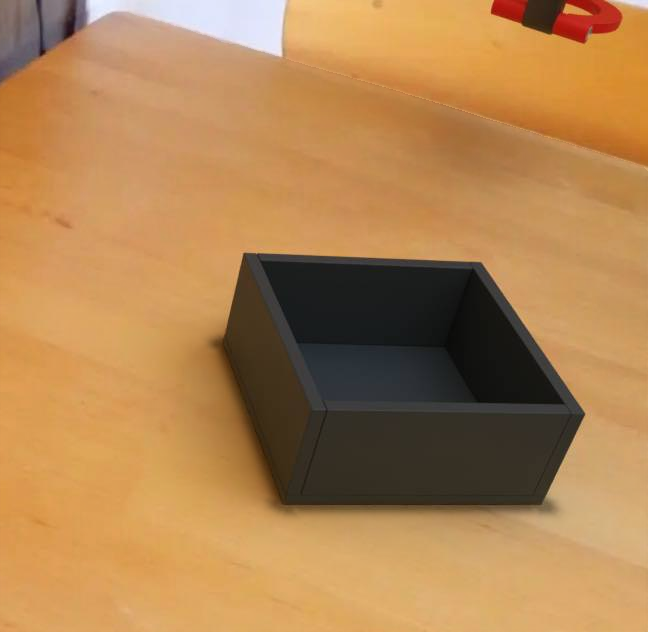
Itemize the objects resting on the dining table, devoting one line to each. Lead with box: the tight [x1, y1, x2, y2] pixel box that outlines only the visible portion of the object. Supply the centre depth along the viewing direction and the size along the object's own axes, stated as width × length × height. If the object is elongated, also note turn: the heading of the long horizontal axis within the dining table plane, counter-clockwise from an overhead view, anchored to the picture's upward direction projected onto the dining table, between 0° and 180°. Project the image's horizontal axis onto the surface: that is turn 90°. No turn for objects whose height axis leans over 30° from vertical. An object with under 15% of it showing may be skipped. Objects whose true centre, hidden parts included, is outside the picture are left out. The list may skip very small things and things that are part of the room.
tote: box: [222, 252, 586, 505], centre depth 69 cm, size 15×15×6 cm
